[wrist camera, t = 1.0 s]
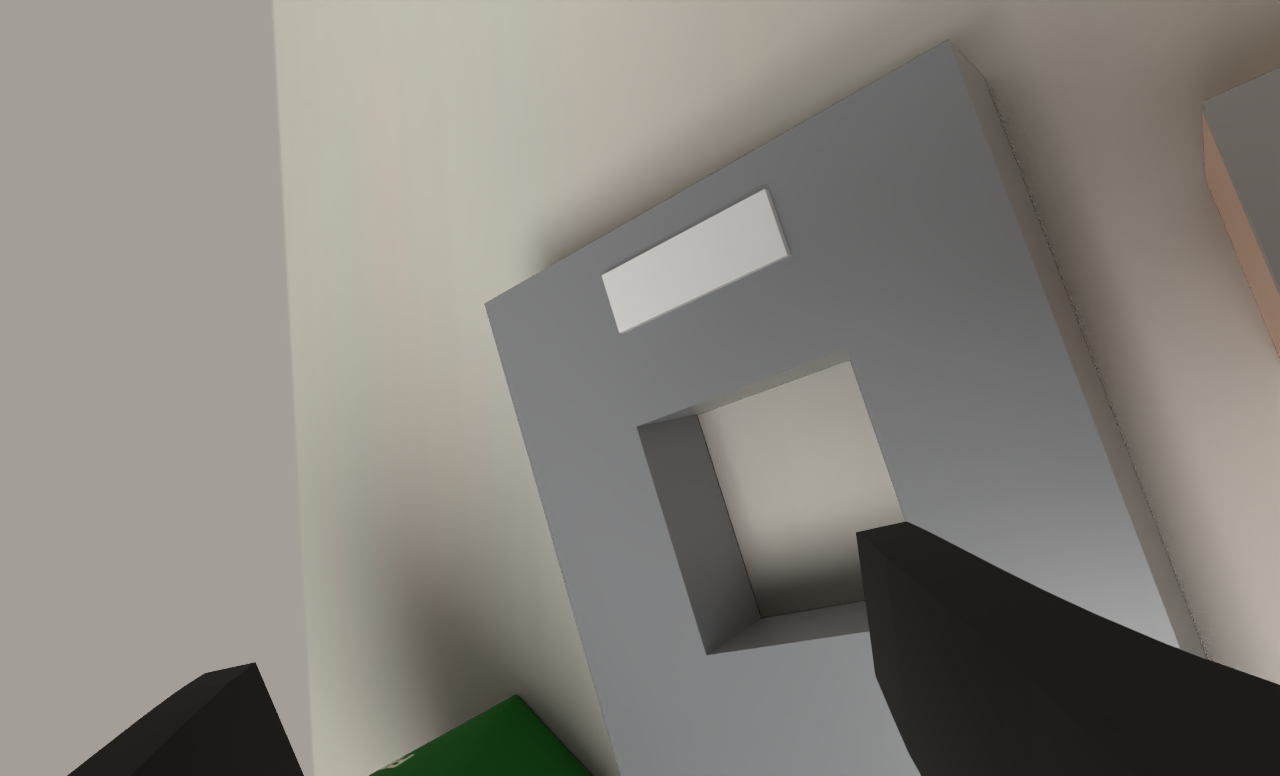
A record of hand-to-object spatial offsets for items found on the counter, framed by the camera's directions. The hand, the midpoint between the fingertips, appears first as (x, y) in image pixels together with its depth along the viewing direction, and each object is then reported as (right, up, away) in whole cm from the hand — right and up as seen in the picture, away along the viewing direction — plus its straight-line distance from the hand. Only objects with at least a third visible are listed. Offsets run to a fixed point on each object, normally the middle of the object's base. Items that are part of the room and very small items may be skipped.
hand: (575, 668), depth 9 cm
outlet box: (+6, +1, +12) cm, 13 cm away
